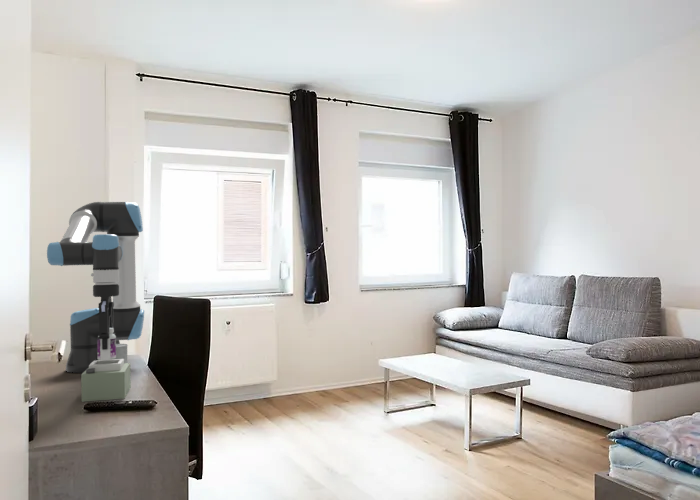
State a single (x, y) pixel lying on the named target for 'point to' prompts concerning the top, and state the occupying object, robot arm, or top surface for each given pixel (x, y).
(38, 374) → the top surface
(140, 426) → the top surface
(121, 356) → the speckled grey cylinder
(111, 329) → the pill bottle
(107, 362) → the green open box
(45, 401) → the top surface
